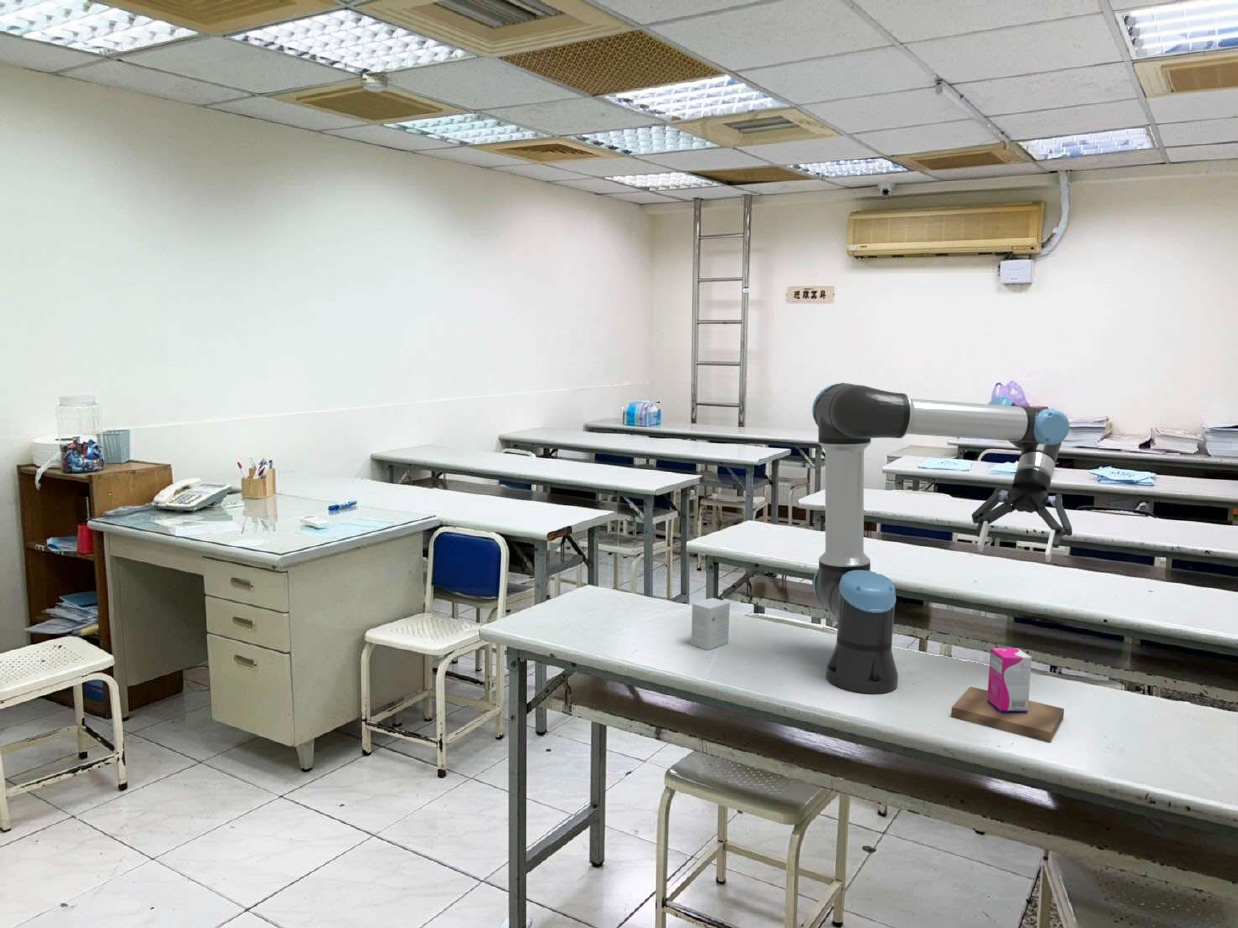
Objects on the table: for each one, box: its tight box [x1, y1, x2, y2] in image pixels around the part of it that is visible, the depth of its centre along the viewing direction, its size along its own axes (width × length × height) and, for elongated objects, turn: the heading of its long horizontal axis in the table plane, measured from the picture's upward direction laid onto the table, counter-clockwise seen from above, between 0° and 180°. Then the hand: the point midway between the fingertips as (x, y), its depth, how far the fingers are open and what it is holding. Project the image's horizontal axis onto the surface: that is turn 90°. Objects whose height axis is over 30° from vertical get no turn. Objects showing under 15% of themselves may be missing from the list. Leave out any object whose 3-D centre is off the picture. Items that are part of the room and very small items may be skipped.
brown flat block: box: [950, 686, 1065, 743], centre depth 171 cm, size 18×14×2 cm
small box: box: [690, 597, 731, 651], centre depth 210 cm, size 8×6×10 cm
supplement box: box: [987, 647, 1033, 713], centre depth 171 cm, size 6×6×12 cm
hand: (1012, 553), depth 185 cm, fingers open, 13 cm apart
